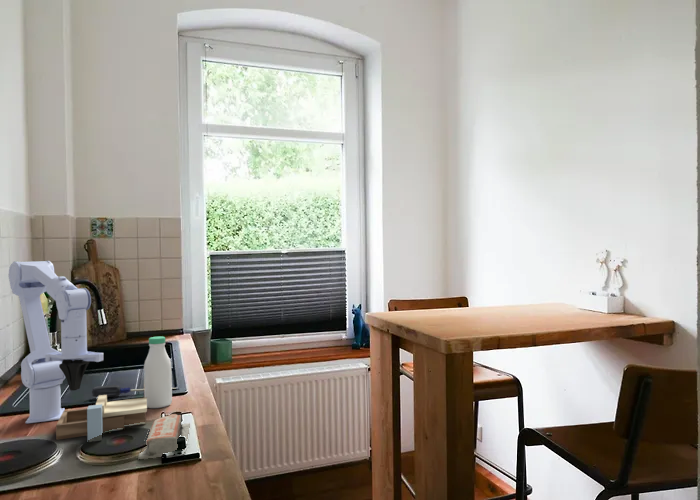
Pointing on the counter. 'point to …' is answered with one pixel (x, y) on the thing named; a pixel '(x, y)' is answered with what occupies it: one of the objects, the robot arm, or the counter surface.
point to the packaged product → (164, 436)
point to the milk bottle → (157, 375)
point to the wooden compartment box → (76, 423)
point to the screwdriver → (112, 390)
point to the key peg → (94, 421)
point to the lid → (121, 406)
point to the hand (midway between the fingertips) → (74, 389)
